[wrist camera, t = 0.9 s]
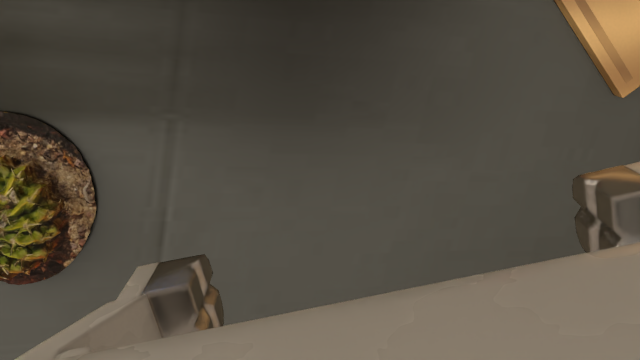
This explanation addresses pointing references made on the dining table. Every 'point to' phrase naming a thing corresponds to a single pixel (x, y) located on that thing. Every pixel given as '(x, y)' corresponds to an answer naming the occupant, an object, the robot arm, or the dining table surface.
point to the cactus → (40, 200)
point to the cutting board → (609, 38)
